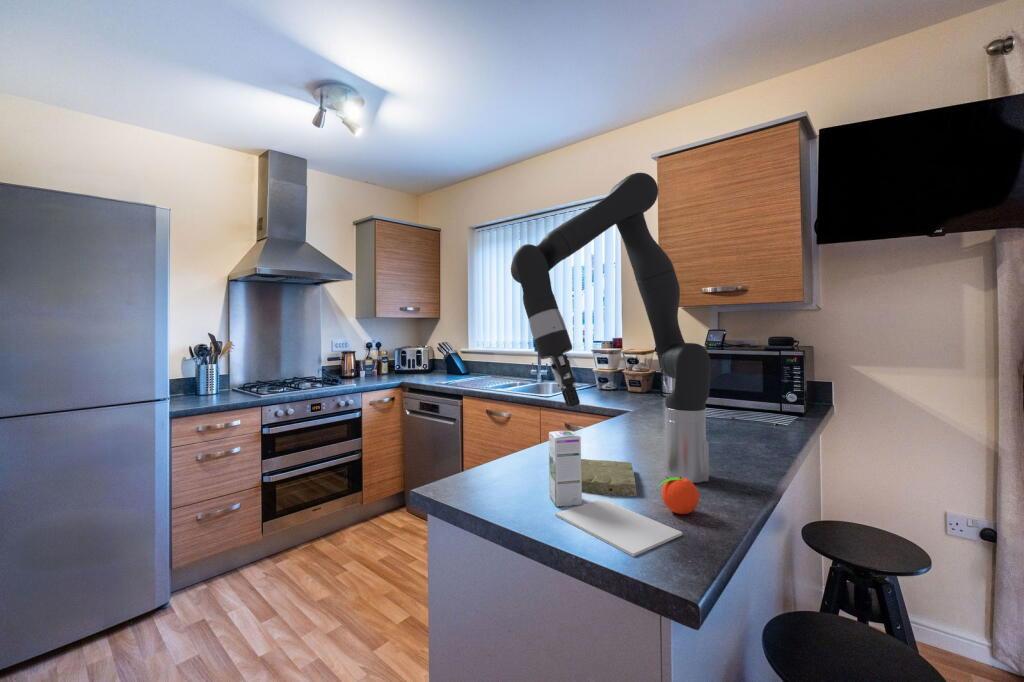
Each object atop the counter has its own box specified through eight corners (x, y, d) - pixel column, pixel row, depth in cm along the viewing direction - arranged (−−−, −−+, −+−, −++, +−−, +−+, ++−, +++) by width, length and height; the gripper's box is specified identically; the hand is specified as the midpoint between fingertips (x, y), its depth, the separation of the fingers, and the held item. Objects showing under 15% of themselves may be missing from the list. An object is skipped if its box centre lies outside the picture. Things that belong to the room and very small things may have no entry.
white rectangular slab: (555, 515, 84) (555, 513, 84) (602, 501, 91) (602, 498, 91) (633, 556, 68) (633, 553, 68) (682, 535, 75) (682, 532, 75)
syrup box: (582, 505, 89) (582, 435, 89) (555, 507, 88) (554, 436, 88) (574, 495, 94) (574, 429, 94) (548, 497, 93) (548, 430, 93)
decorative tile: (555, 468, 116) (555, 455, 116) (632, 472, 111) (632, 459, 111) (546, 493, 97) (546, 477, 97) (638, 499, 93) (638, 483, 93)
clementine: (663, 520, 82) (663, 483, 81) (651, 506, 88) (651, 471, 88) (705, 520, 82) (705, 482, 81) (690, 505, 88) (690, 471, 88)
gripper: (569, 322, 87) (595, 400, 84) (564, 334, 101) (586, 400, 98) (533, 333, 87) (558, 411, 84) (533, 343, 101) (554, 410, 98)
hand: (573, 405), depth 91 cm, fingers open, 8 cm apart
